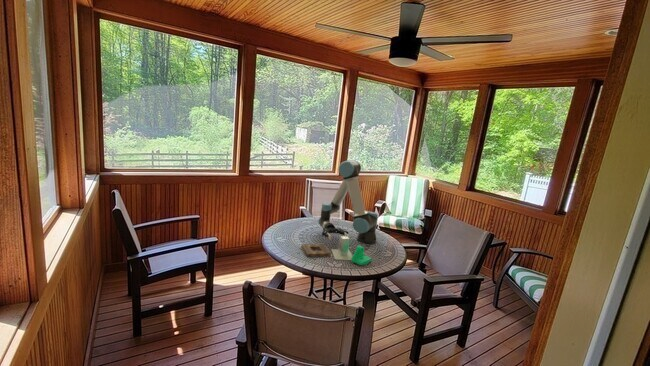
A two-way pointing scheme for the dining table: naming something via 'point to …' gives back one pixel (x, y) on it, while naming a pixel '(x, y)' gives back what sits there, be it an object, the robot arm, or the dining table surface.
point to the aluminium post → (343, 246)
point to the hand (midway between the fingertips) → (339, 237)
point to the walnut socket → (310, 253)
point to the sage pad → (338, 257)
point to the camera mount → (360, 256)
